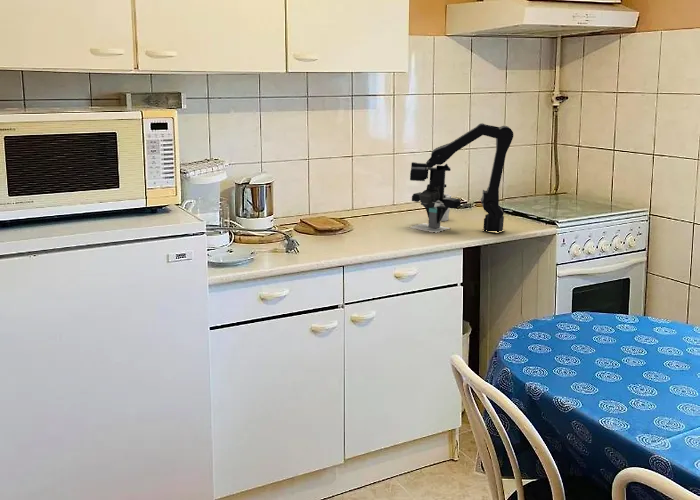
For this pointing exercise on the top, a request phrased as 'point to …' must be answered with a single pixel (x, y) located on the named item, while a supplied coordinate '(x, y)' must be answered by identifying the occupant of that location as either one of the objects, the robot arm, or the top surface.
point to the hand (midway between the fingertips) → (434, 222)
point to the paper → (425, 227)
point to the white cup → (446, 215)
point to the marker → (433, 218)
